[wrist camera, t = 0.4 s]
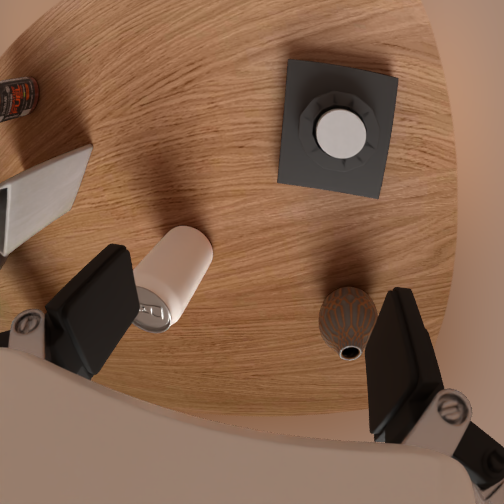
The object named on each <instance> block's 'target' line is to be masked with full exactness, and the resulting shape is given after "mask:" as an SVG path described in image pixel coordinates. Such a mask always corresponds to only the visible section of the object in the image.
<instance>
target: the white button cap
mask: <svg viewBox="0 0 504 504" xmlns="http://www.w3.org/2000/svg"><path fill="white" fill-rule="evenodd" d="M316 136H317V140H318V143H319V145H320V147H321V148H322V149H323V150H324V151H325V152H326V153H327V154H329V155H330V156H333V157H336V158H349V157H352V156H354V155H356V154H357V153H358V152H359V151H360V150H361V149H362V148H363V146H364V144H365V141H366V130H365V126H364V124H363V122H362V121H361V119H360V118H359V117H358V116H357V115H355V114H354V113H352V112H350V111H348V110H345V109H332V110H329V111H327V112H325V113H324V114H323V115H322V116H321V117H320V118H319V120H318V122H317V126H316Z"/></svg>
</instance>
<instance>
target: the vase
mask: <svg viewBox="0 0 504 504" xmlns="http://www.w3.org/2000/svg"><path fill="white" fill-rule="evenodd" d="M377 318H378V315H377V310H376V307H375V304H374V302H373V301H372V299H371V298H370V296H369V295H368V294H367V293H365V292H364V291H363V290H361V289H358V288H355V287H343V288H339V289H337V290H335V291H333V292H332V293H331V294H329V295H328V297H327V298H326V299H325V300H324V302H323V304H322V306H321V309H320V313H319V329H320V332H321V335H322V337H323V339H324V341H325V343H326V344H327V345H328V346H329V347H330V348H331V349H333V350H334V351H336V352H337V353H338V354H339V356H340V357H341V358H342V359H344V360H354V359H357V358H358V357H360V355H361V354H362V352H363V350H364V349H365V348H366V344H367V342H368V340H369V337H370V335H371V333H372V330H373V328H374V326H375V323H376V321H377Z"/></svg>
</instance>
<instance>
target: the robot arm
mask: <svg viewBox="0 0 504 504" xmlns="http://www.w3.org/2000/svg"><path fill="white" fill-rule="evenodd" d="M45 308H46V310H47V313H46V314H45V315H44V314H43V312H42V311H41V310H39V309H28V310H25V311H23V312H21V313H20V314H18V315H17V316H16V317H15V319H14V320H13V321H12V324H11V330H9V331H5V332H2V333H0V504H504V448H503V446H501V445H500V444H499V443H498V442H496V441H495V440H494V439H493V438H491V437H490V436H489V435H488V434H486V433H485V432H484V431H483V430H481V429H480V428H479V427H478V426H476V425H475V424H474V423H472V422H471V421H470V420H471V417H472V407H471V404H470V402H469V400H468V399H467V397H466V396H465V395H464V394H462V393H461V392H459V391H457V390H454V389H444V386H443V382H442V378H441V374H440V370H439V367H438V363H437V360H436V356H435V353H434V349H433V346H432V343H431V340H430V336H429V333H428V331H427V329H425V328H424V324H423V321H422V318H421V315H420V313H419V310H418V307H417V304H416V301H415V298H414V296H413V293H412V291H411V289H408V288H400V287H395V288H394V289H393V291H391V290H389V291H388V293H387V295H386V298H385V300H384V303H383V306H382V308H381V311H380V313H379V316H378V318H377V321H376V323H375V326H374V328H373V330H372V333H371V335H370V337H369V340H368V342H367V344H366V348H365V361H366V373H367V386H368V403H369V426H370V433H372V434H374V441H375V442H355V441H341V440H329V439H319V438H309V437H300V436H292V435H285V434H278V433H272V432H265V431H259V430H254V429H249V428H243V427H239V426H234V425H229V424H225V423H220V422H216V421H212V420H208V419H204V418H200V417H196V416H192V415H188V414H185V413H181V412H178V411H174V410H171V409H168V408H164V407H161V406H158V405H155V404H152V403H149V402H146V401H143V400H140V399H137V398H134V397H132V396H129V395H126V394H123V393H121V392H118V391H115V390H113V389H110V388H108V387H105V386H103V385H100V384H98V383H95V382H93V381H91V378H92V377H93V375H96V374H98V372H99V371H100V369H101V368H102V366H103V365H104V363H105V362H106V360H107V359H108V357H109V356H110V354H111V353H112V351H113V350H114V348H115V347H116V345H117V344H118V342H119V341H120V339H121V338H122V337H123V335H124V334H125V332H126V331H127V329H128V328H129V326H130V325H131V324H132V322H133V321H134V319H135V318H136V316H137V315H138V313H139V310H140V303H139V299H138V294H137V289H136V284H135V279H134V274H133V269H132V263H131V257H130V253H129V251H128V250H127V249H126V247H125V246H123V245H118V244H109V245H108V246H107V247H106V248H105V249H104V250H102V251H101V252H100V253H99V254H98V255H97V256H96V257H95V258H94V259H93V260H91V261H90V262H89V263H88V264H87V265H86V266H85V267H84V268H83V269H82V270H81V271H80V272H79V273H78V274H77V275H76V276H75V277H74V278H72V279H71V280H70V281H69V282H68V283H67V284H66V285H65V286H64V287H63V288H62V289H61V290H60V291H59V292H58V293H57V294H56V295H55V296H54V297H53V298H52V299H51V300H50V301H49V303H48V304H47V305H46V306H45ZM77 373H78V375H77ZM376 442H385V443H376Z"/></svg>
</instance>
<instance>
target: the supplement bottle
mask: <svg viewBox="0 0 504 504" xmlns="http://www.w3.org/2000/svg"><path fill="white" fill-rule="evenodd" d="M38 96H39V89H38V84H37V82H36V80H35V79H34V78H32V77H21V78H15V79H9V80H3V81H0V122H4V121H7V120H10V119H14V118H18V117H22V116H25V115H28V114H30V113H31V112H32V111H33V110H34V108H35V107H36V104H37V101H38Z"/></svg>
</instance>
